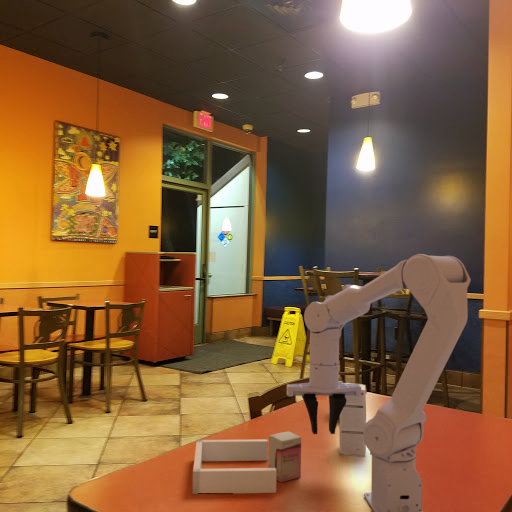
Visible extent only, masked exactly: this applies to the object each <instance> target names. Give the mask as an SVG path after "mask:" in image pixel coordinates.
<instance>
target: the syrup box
mask: <svg viewBox="0 0 512 512" xmlns="http://www.w3.org/2000/svg"><path fill="white" fill-rule="evenodd" d="M342 384H358V385H360V386H361V396H355V395H346V396H345V398H346V405H345V406H344V408H343V410H342V412H341V414H340V420H339V454H340V455H345V456H356V457H366V454H367V446H366V444H365V442H364V438H363V429H364V426H365V424H366V423H367V402H366V401H367V400H366V399H367V398H366V393H365V385H366V384H363V383H354V382H351V383H342Z"/></svg>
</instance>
